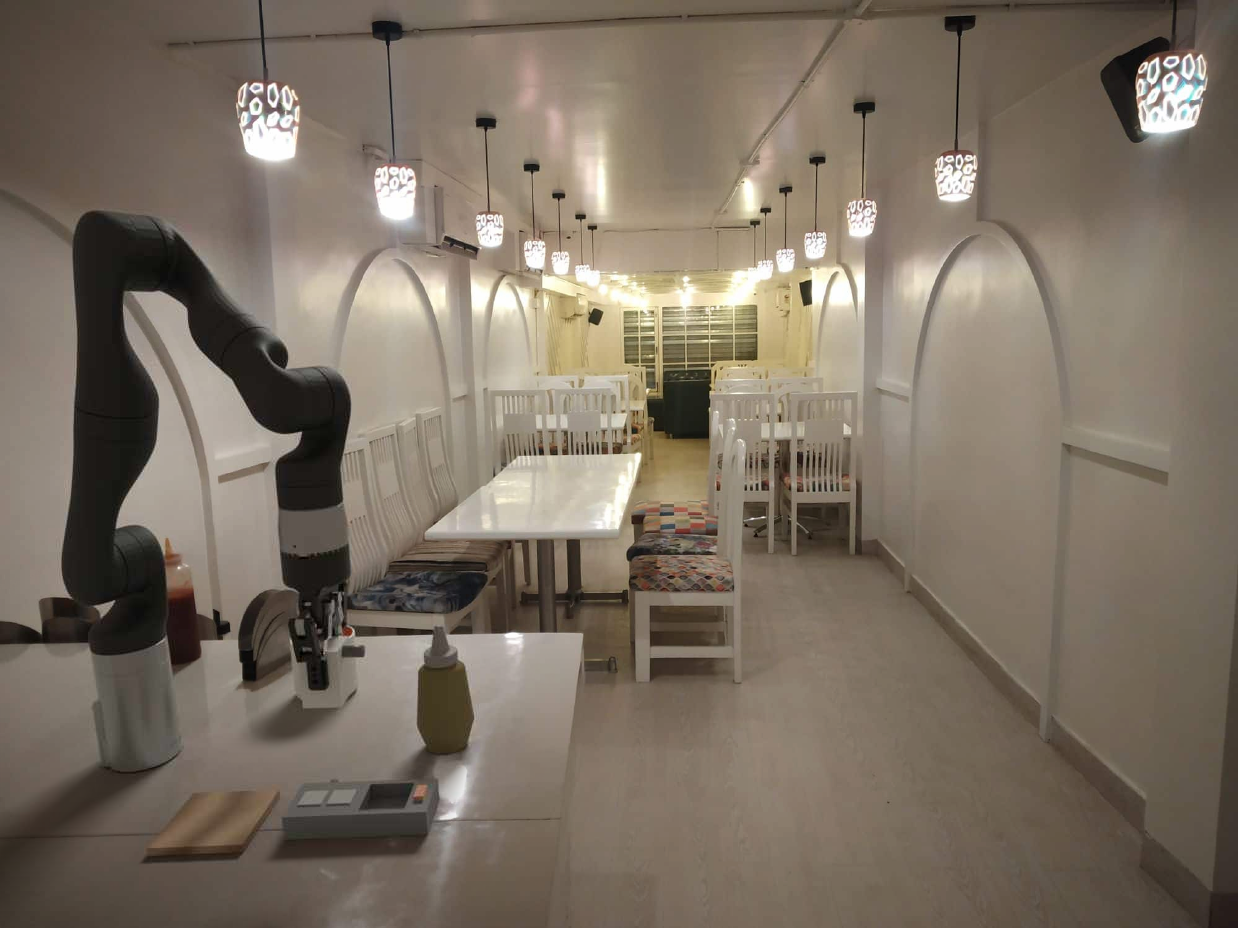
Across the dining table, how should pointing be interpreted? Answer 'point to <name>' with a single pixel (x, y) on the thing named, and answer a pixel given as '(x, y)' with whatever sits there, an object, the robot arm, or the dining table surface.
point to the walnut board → (215, 823)
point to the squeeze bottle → (443, 698)
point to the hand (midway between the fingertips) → (326, 678)
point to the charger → (332, 675)
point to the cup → (354, 663)
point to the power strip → (361, 809)
